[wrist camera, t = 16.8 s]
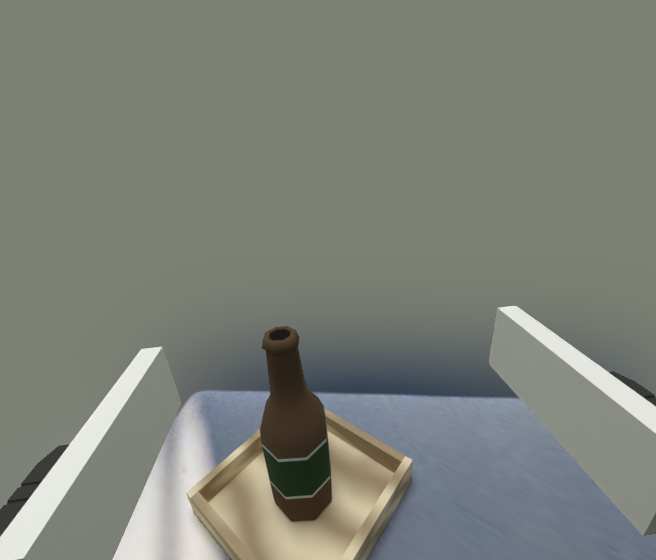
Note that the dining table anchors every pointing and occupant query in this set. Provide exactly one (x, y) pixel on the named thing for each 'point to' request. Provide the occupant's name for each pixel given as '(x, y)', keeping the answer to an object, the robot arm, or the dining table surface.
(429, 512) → the dining table surface
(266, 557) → the oak tray
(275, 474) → the beer bottle
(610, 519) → the dining table surface
